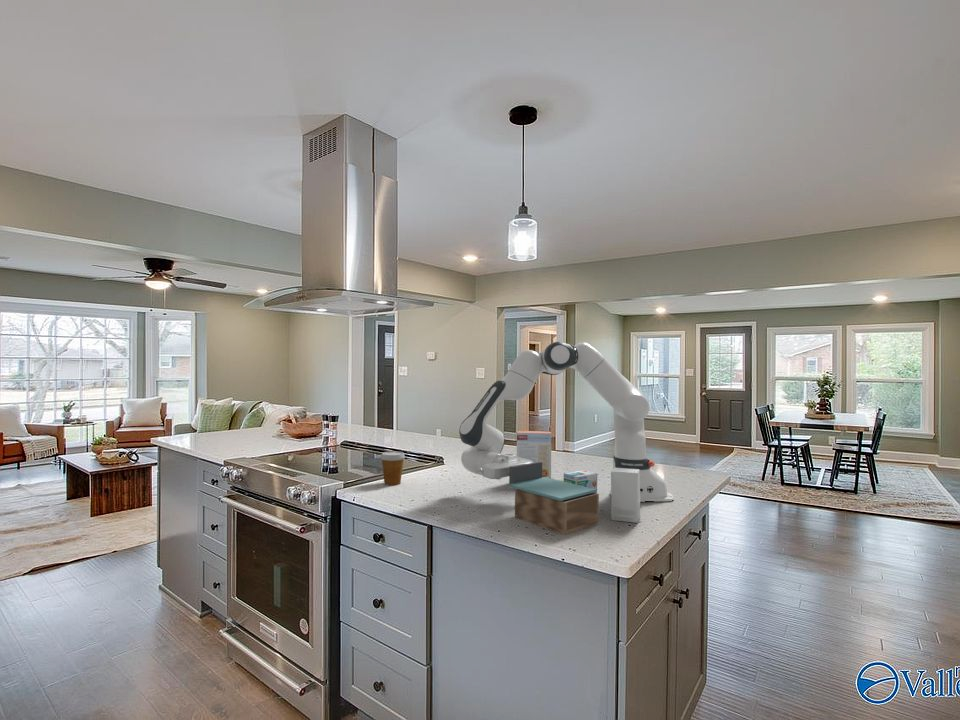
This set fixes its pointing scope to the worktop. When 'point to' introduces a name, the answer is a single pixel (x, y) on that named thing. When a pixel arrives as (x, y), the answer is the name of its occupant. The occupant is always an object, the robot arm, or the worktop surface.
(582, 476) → the light bulb box
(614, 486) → the skincare box
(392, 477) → the disposable coffee cup
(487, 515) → the worktop surface
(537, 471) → the lid
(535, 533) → the worktop surface
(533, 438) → the cracker box
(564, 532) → the crate
